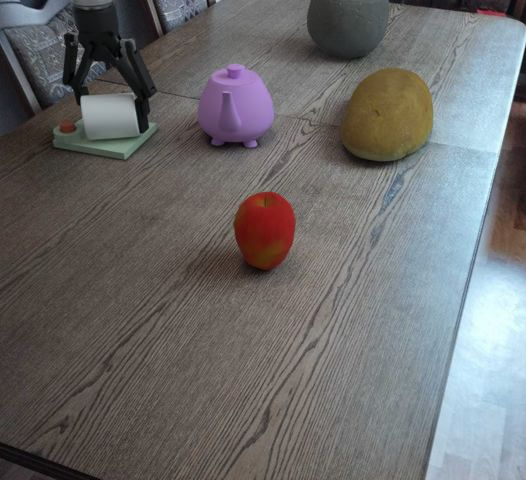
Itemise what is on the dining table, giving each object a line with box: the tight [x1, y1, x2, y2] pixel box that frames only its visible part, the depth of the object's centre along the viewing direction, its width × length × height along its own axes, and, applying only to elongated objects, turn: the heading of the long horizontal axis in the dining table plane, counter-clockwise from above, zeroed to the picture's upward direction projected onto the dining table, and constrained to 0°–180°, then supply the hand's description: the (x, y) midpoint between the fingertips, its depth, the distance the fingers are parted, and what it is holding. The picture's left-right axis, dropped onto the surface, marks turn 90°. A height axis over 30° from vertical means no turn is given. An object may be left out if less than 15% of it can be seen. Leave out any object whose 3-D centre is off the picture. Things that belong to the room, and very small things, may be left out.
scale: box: [52, 117, 158, 161], centre depth 112 cm, size 16×14×3 cm
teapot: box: [197, 63, 275, 148], centre depth 109 cm, size 22×16×14 cm
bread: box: [340, 67, 434, 162], centre depth 113 cm, size 18×35×10 cm, turn 167°
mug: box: [80, 92, 140, 140], centre depth 109 cm, size 12×10×8 cm
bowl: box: [306, 0, 390, 59], centre depth 144 cm, size 21×21×15 cm
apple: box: [232, 191, 297, 271], centre depth 80 cm, size 9×9×12 cm
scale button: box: [58, 119, 76, 133], centre depth 109 cm, size 3×3×2 cm
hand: (116, 126), depth 111 cm, fingers closed on mug, 12 cm apart
